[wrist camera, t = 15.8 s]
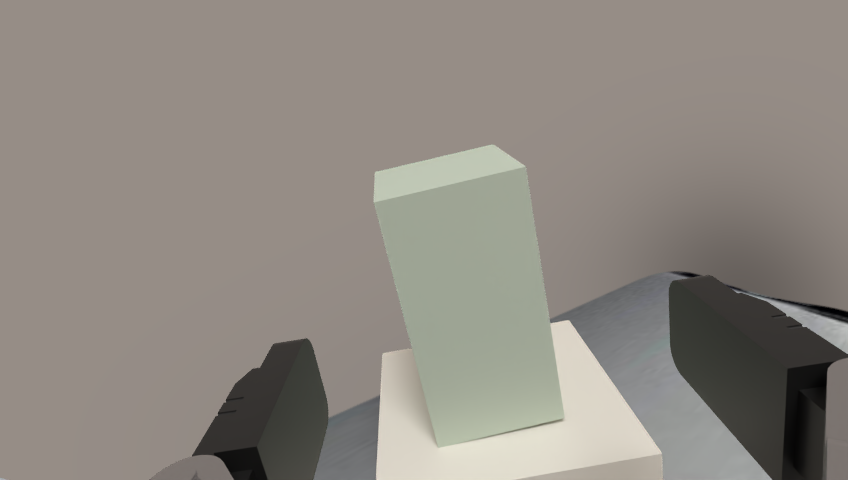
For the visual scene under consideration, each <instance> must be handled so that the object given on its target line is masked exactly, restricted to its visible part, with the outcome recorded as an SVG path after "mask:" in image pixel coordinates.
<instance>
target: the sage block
mask: <svg viewBox="0 0 848 480" xmlns="http://www.w3.org/2000/svg"><path fill="white" fill-rule="evenodd" d="M374 205H375V209H376V213H377V217H378V221H379V225H380V228H381V232H382V236H383V240H384V243H385V247H386V251H387V255H388V259H389V263H390V266H391V270H392V274H393V278H394V281H395V286H396V289H397V293H398V297H399V301H400V304H401V308H402V312H403V316H404V319H405V324H406V327H407V331H408V335H409V339H410V343H411V346H412V350H413V354H414V358H415V362H416V365H417V369H418V373H419V377H420V381H421V384H422V388H423V392H424V396H425V400H426V403H427V407H428V411H429V415H430V419H431V422H432V426H433V430H434V434H435V438H436V442H437V445H438V448H440V447H445V446H450V445H454V444H458V443H462V442H466V441H471V440H475V439H479V438H483V437H487V436H491V435H496V434H500V433H504V432H508V431H512V430H517V429H521V428H525V427H529V426H533V425H537V424H542V423H546V422H550V421H554V420H558V419H563V418H565V416H564V410H563V403H562V397H561V390H560V384H559V378H558V371H557V365H556V358H555V352H554V345H553V339H552V332H551V326H550V319H549V313H548V307H547V300H546V294H545V288H544V281H543V274H542V268H541V261H540V255H539V249H538V242H537V236H536V229H535V223H534V217H533V211H532V203H531V198H530V191H529V184H528V178H527V171H526V167H525V166H524V165H523V164H521V163H520V162H518V161H517V160H515V159H514V158H512V157H511V156H509V155H508V154H507V153H505V152H504V151H502V150H501V149H499V148H498V147H496V146H495V145H488V146H484V147H480V148H476V149H471V150H467V151H463V152H459V153H455V154H450V155H446V156H442V157H438V158H433V159H429V160H425V161H421V162H417V163H412V164H408V165H403V166H399V167H395V168H391V169H387V170H382V171H378V172H375V186H374Z"/></svg>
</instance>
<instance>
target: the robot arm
mask: <svg viewBox="0 0 848 480" xmlns="http://www.w3.org/2000/svg"><path fill="white" fill-rule="evenodd" d="M669 318H670V347H671V353H672V357H673V360H674V363H675V365H676V367H677V369H678V371H679V373H680V374H681V375H682V376H683V378H684V379H685V380H686V381H687V382H688V383H689V384H690V386H691V387H692V388H693V389H694V390H695V391H696V392H697V394H698V395H699V396H700V397H701V398H702V399H703V400H704V402H705V403H706V404H707V405H708V406H709V407H710V409H711V410H712V411H713V412H714V413H715V414H716V415H717V417H718V418H719V419H720V420H721V421H722V422H723V423H724V425H725V426H726V427H727V428H728V429H729V430H730V431H731V433H732V434H733V435H734V436H735V437H736V438H737V440H738V441H739V442H740V443H741V444H742V445H743V446H744V448H745V449H746V450H747V451H748V452H749V453H750V454H751V456H752V457H753V458H754V459H755V460H756V461H757V462H758V464H759V465H760V466H761V467H762V468H763V469H764V471H765V472H766V473H767V474H768V475H769V476H770V477H771V479H772V480H848V354H846V353H845V352H843V351H842V350H840V349H839V348H837V347H836V346H834V345H833V344H831V343H830V342H828V341H827V340H825V339H824V338H822V337H820V336H819V335H817V334H816V333H814V332H813V331H811V330H810V329H808V328H807V327H802V324H801V323H799V322H797V321H796V320H794V319H793V318H791V317H787V316H786V314H785V313H784V312H782V311H781V310H779V309H778V308H776V307H774V306H773V305H771V304H770V303H768V302H766V301H763V300H761V299H758V298H755V297H752V296H749V295H746V294H743V293H736V292H735V291H733V290H732V289H730V288H729V287H727V286H726V285H725V284H723V283H722V282H720V281H719V280H717V279H716V278H714V277H713V276H710V275H706V276H700V277H694V278H687V279H681V280H675V281H672V283H671V284H670V287H669ZM327 425H328V404H327V398H326V394H325V391H324V387H323V383H322V380H321V376H320V372H319V368H318V365H317V361H316V357H315V354H314V350H313V347H312V344H311V342H310V341H309V340H308V339H307V338H306V339H301V340H294V341H287V342H281V343H275V344H273V346H272V347H271V349H270V351H269V353H268V354H267V356H266V358H265V360H264V362H263V363H262V365H261V367H260V368H256V369H252V370H251V371H250V372H248V373H247V374H246V375H245V376H244V377H243V378H242V379H240V380H239V381H238V382H237V383H236V384H235V385H234V387H233V389H232V390H231V392H230V394H229V395H228V397H227V399H226V403H224V404H223V405H222V407H221V409H220V410H219V412H218V416H216V417H215V419H214V420H213V422H212V424H211V425H210V427H209V429H208V430H207V432H206V434H205V435H204V437H203V439H202V440H201V442H200V443H199V445H198V447H197V448H196V450H195V452H194V454H193V455H192V457H189V458H186V459H183V460H180V461H178V462H176V463H174V464H172V465H170V466H168V467H166V468H165V469H163V470H162V471H160V472H159V473H157V474H156V475H155V476H154V477H152V478H151V479H150V480H313V479H314V475H315V471H316V467H317V463H318V460H319V456H320V452H321V448H322V445H323V441H324V437H325V433H326V430H327Z"/></svg>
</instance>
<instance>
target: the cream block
mask: <svg viewBox="0 0 848 480" xmlns="http://www.w3.org/2000/svg"><path fill="white" fill-rule="evenodd" d="M550 326H551V332H552V339H553V345H554V352H555V358H556V365H557V371H558V378H559V384H560V390H561V397H562V403H563V410H564V416H565V418H563V419H558V420H554V421H550V422H546V423H542V424H537V425H533V426H529V427H525V428H521V429H517V430H512V431H508V432H504V433H500V434H496V435H491V436H487V437H483V438H479V439H475V440H471V441H466V442H462V443H458V444H454V445H450V446H445V447H440V448H438V445H437V442H436V438H435V434H434V430H433V426H432V422H431V419H430V415H429V411H428V407H427V403H426V400H425V396H424V392H423V388H422V384H421V381H420V377H419V373H418V369H417V365H416V362H415V358H414V354H413V350H412V348H409V349H404V350H398V351H393V352H387V353H383V356H382V375H381V394H380V413H379V432H378V451H377V470H376V480H663V467H662V453H661V451H660V450H659V448H658V447H657V446H656V444H655V443H654V441H653V440H652V438H651V437H650V436H649V434H648V433H647V431H646V430H645V428H644V427H643V426H642V424H641V423H640V421H639V420H638V418H637V417H636V416H635V414H634V413H633V411H632V410H631V408H630V407H629V406H628V404H627V403H626V401H625V400H624V398H623V397H622V396H621V394H620V393H619V391H618V390H617V388H616V387H615V385H614V384H613V383H612V381H611V380H610V378H609V377H608V375H607V374H606V373H605V371H604V370H603V368H602V367H601V365H600V364H599V363H598V361H597V360H596V358H595V357H594V355H593V354H592V353H591V351H590V350H589V348H588V347H587V345H586V344H585V343H584V341H583V340H582V338H581V337H580V335H579V334H578V333H577V331H576V330H575V328H574V327H573V325H572V324H571V323H570V321H569V320H567V321H561V322H556V323H550Z"/></svg>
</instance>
